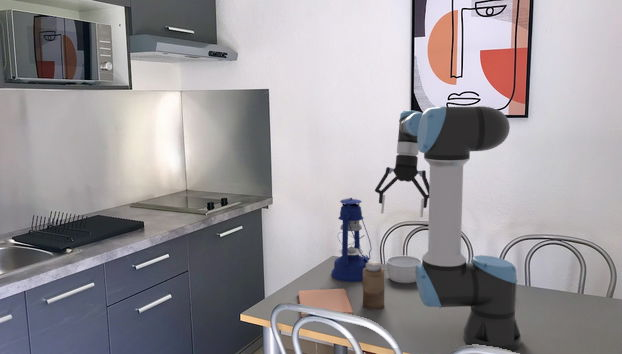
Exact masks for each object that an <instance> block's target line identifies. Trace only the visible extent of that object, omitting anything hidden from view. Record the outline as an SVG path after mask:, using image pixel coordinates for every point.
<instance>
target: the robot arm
mask: <svg viewBox="0 0 622 354" xmlns="http://www.w3.org/2000/svg"><path fill="white" fill-rule="evenodd" d="M399 115H400V116H399V120H398V123H399V125H398V135H397V136H398V137H397V145H396V157H395V164H394V165H395V166H394V168H392V167H389V166H388V167H386V168H385V172H384V175H383V176H382V178H381V180H380V181H379V183H378V184H377V186H376V187H375V189H374V192H375V193H377V194H378V195H379V198H378V203H379V204H381V208H380V209H381V210H380V213H381V214H384V213H385V212H384V211H385V199H386V194H385V193H386V192H387V191H388V189H389V188H391V187H392V186H393V185H394V183H396V182H397V181H400V182H407V183H408V182H409V183H410V182H412V183H413V185H414V186H415V187H416V189H417V190H418V191H419V193H420V195H421V196H422V197H423V198H421V199H420V209H419V218H423V217H424V209H426V208H427V206H428V234H427V236H428V238H427V239H428V240H427V241H428V244H427V252H426V253H424V254H423V255H422V259H421V260H422V264H418V265H416V270H415V274H416V282H415V283H416V286H417V287H416V288H417V291H418V294H419V299H420V300H421V302H422V304H423V305H424V306H426V307H428V308H439V309H441V308H458V307H470V312H469V314H468V317H467V319H466V323H464V324H465V325H464V326H463V332H462V333H463V335H462V336H463V337H462V338H463V339H464V341H465V342H466V344H468V345H469V346H471V345H472V344H479V345H486V346H493V347H499V348H502V349H507V350H512V351H511V352H514V351H516V350H518V349H519V348H520V347H521V344H522V343H521V342H522V336H521V332H520V329H519V324H518V322H517V319H516V301H517V300H516V298H517V284H518V280H517V279H518V278H517V268H516V266H515V265H514V264H513V263H511V262H510V261H508V260H506V259H503V258H500V257H497V256H496V257H495V256H491V255H483V254H480V255H474V256H473V257H472V259H471V260H470V261H471V262H467V258H466V257H465V256H464V254H462V226H463V225H462V222H463V221H462V219H463V217H462V216H463V214H462V213H463V190H464V189H463V185H464V166H465V164H466V163H468V161H469V160H470V159H471V157H470V155H471V154H470V153H471V152H482V151H483V152H484V151H488V150H489V151H490V150H493V149H494V148H497V147H499V146H500V145H501V144H503V143H504V142H505V141H506V139H507V138H508V136H509V133H510V122H509V119H508V117H507V116H506V115H505V114H504V113H503V112H502V111H501V110H499V109H496V108H493V107H490V106H485V105H484V106H481V105H480V106H439V107H437V106H435V107H429V108H427V109H426V110H425V111H424V112H421V111H416V110H410V109H409V110H402V111H401V112H400V114H399ZM419 152H420V153H422V154H423V159H424V160H425V161H426V162H427V164H428V165H429V182H428V179H427V173H426V170H418V161H419V157H418V155H419ZM392 172H393V173H394V175H395V177H393V179H391V180H390V181H389V182H388V183H387V184H386V185H385V186H384V187H383V188H382V189H381V187H382V186H383V184H384V183H385V181H386V179H387V178H388V176H389V174H392ZM417 175H419V177H421V179H422V181H423V184H424V186H425V189H426V192H427V193H426V192H425V190H424V189H423V188H422V186H421V185H420V183H419V182H418V181H417V179H416V177H417Z"/></svg>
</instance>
